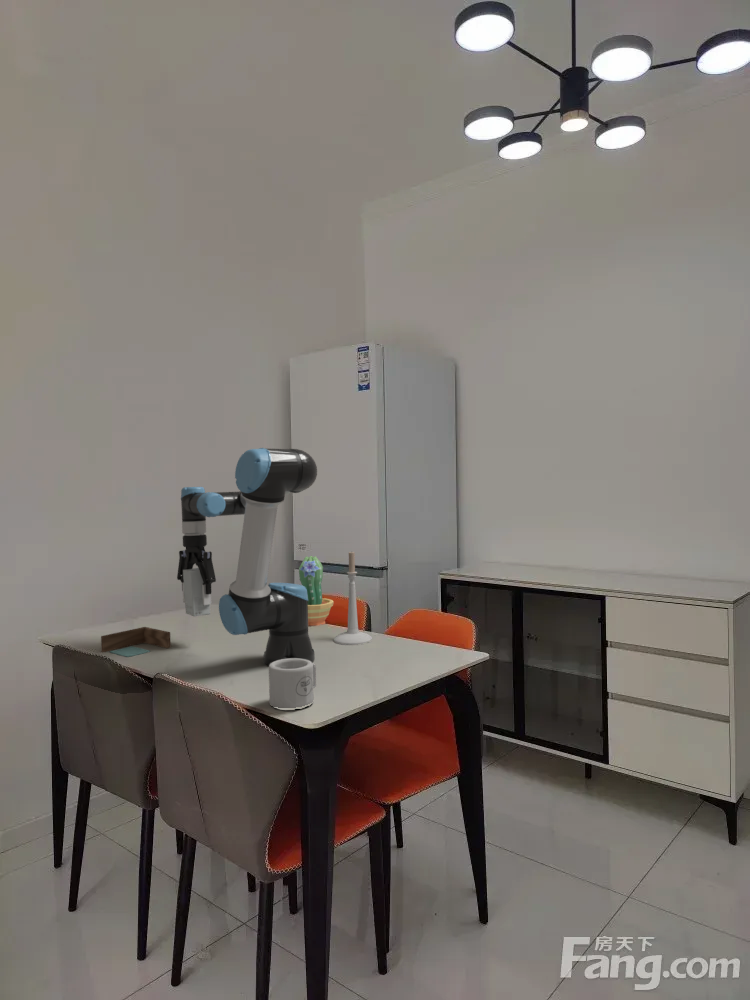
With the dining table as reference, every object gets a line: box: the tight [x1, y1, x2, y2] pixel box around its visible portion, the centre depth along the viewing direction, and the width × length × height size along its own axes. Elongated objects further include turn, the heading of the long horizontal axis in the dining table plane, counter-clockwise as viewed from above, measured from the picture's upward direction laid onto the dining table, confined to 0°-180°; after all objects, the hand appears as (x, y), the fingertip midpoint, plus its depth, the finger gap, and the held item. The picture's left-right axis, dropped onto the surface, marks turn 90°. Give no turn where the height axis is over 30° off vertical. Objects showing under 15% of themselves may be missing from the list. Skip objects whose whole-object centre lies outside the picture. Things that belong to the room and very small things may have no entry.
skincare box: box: [183, 567, 211, 617], centre depth 225 cm, size 8×6×15 cm
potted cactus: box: [298, 555, 335, 627], centre depth 258 cm, size 15×15×25 cm
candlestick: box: [333, 551, 373, 646], centre depth 231 cm, size 13×13×30 cm
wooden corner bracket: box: [100, 626, 172, 653], centre depth 223 cm, size 14×16×5 cm
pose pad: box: [109, 645, 151, 658], centre depth 220 cm, size 10×8×1 cm
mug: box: [268, 658, 317, 708], centre depth 170 cm, size 14×11×10 cm
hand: (197, 603), depth 225 cm, fingers closed on skincare box, 9 cm apart
